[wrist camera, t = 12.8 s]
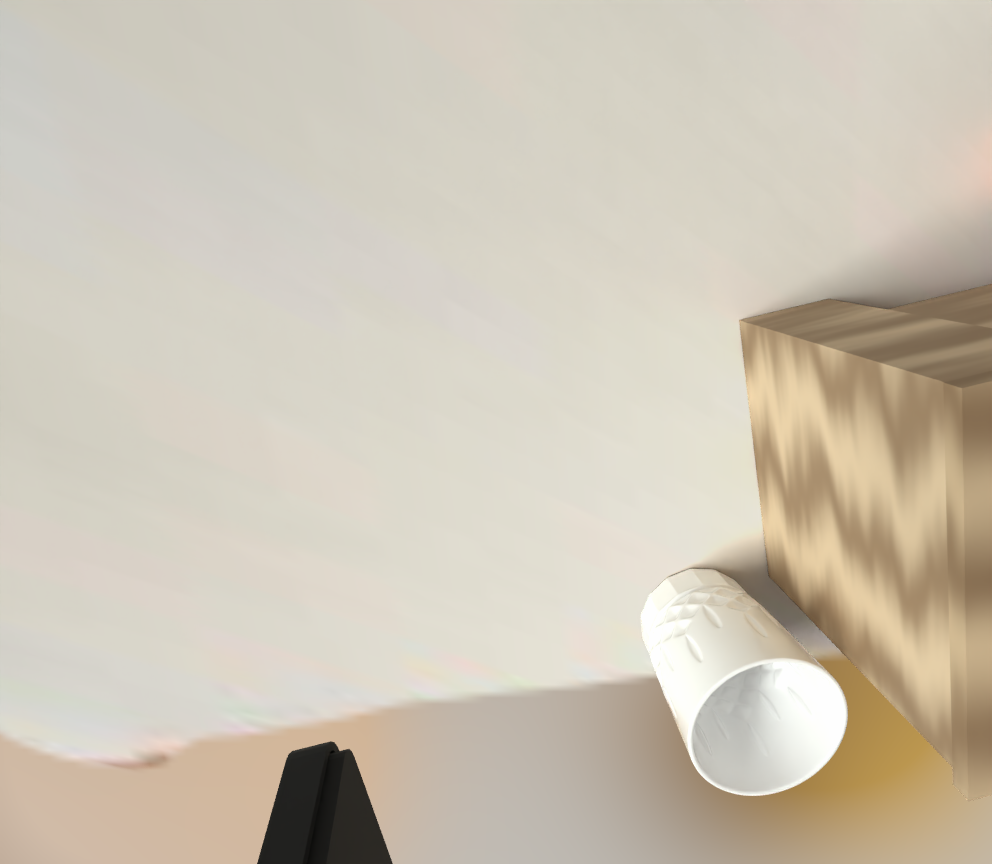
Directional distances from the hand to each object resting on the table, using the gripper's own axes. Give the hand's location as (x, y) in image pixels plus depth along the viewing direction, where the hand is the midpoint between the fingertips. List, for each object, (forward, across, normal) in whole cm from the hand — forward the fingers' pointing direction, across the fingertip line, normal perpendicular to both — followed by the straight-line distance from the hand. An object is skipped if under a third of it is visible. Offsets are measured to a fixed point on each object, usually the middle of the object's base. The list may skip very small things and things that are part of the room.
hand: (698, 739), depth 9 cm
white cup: (+28, -8, +18) cm, 35 cm away
